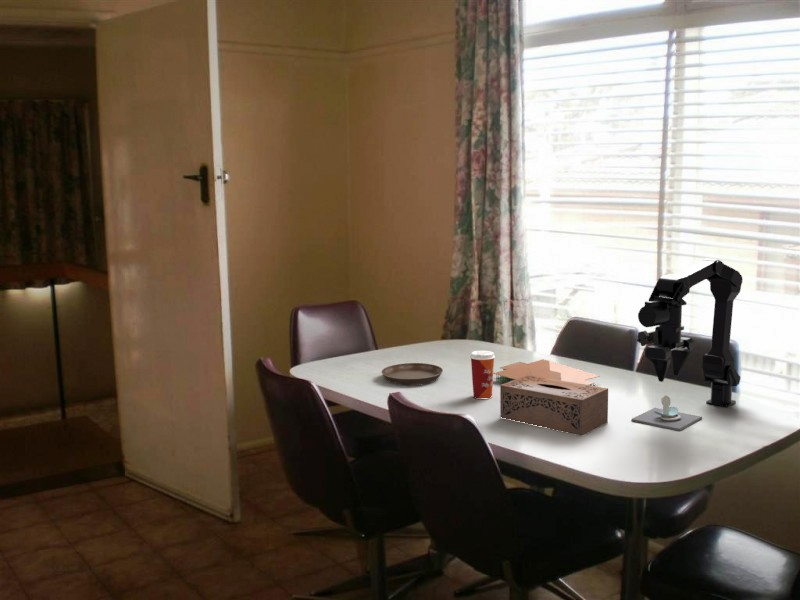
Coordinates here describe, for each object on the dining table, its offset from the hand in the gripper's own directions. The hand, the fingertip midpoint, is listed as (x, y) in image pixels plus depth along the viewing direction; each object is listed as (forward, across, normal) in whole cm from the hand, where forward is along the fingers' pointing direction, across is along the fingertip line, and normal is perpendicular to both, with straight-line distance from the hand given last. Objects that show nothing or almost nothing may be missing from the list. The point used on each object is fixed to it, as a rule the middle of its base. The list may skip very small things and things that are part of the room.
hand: (668, 378), depth 234 cm
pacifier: (+12, 0, +1) cm, 12 cm away
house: (+12, -12, -47) cm, 50 cm away
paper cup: (+12, +13, -54) cm, 57 cm away
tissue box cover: (+12, +20, -24) cm, 34 cm away
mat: (+12, 0, 0) cm, 12 cm away
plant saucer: (+12, +10, -86) cm, 88 cm away
